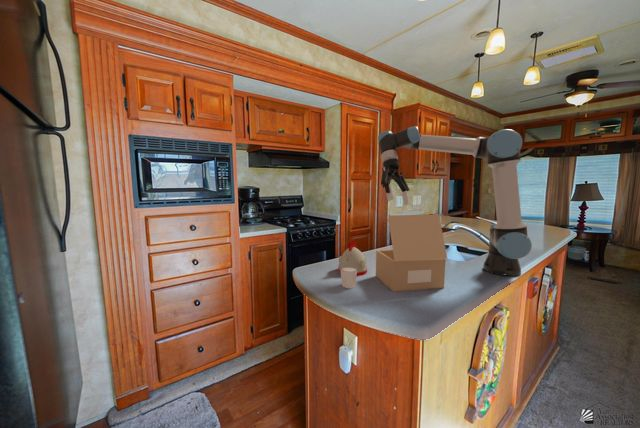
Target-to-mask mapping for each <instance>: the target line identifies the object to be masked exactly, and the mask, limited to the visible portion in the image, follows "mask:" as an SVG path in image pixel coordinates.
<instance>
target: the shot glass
mask: <svg viewBox="0 0 640 428" xmlns="http://www.w3.org/2000/svg"><path fill="white" fill-rule="evenodd" d="M357 277H358V276H357V269H356V268H352V267H344V268H341V273H340V279H341V287H342V286H343V288H344V287H345V288H346V289H354V288H355V287H357V286H356V285H357V283H356V282H357ZM345 288H344V289H345Z"/></svg>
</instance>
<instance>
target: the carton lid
mask: <svg viewBox="0 0 640 428" xmlns="http://www.w3.org/2000/svg"><path fill="white" fill-rule="evenodd" d="M387 217H388V225H389V232H390V238H391V247H392V250H393V255H394V261H407V260H427V259H445V260H446V259H448V257H447V256H448V255H447V251H446V245H445V239H444V233H443V229H442V223H441V217H440V214H405V215H403V214H402V215H397V214H396V215H388V216H387Z"/></svg>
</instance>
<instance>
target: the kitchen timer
mask: <svg viewBox="0 0 640 428" xmlns="http://www.w3.org/2000/svg"><path fill="white" fill-rule="evenodd" d="M347 247H348V248H346V249H345V250H344V251H343V253H342V255H340V256H339V258H338V265H337V271H339V272H340V274H341V268H344V267H352V268H356V269H357V277H361V276H364V275H366V274H368V266H367V258H365V255H364V254H363V253H362V251H361V250H360V249H358V248H357V247H358V244H357V242H356V241H355V240H352V241H350V242H349V244H348V245H347ZM339 272H338V273H339Z"/></svg>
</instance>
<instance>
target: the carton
mask: <svg viewBox="0 0 640 428" xmlns="http://www.w3.org/2000/svg"><path fill="white" fill-rule="evenodd" d="M375 255H376V256H375V277H376V278H377V279H378V280H379V281H380V282H382V283H383V284H384V285H385V286H386V287H387V289H389V290H391V291H392V293H393V292H407V291H421V290H435V289H444V288H445V276H446V274H445V273H446V259H427V260H407V261H394V255H393V249H381V250H376V251H375Z"/></svg>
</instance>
